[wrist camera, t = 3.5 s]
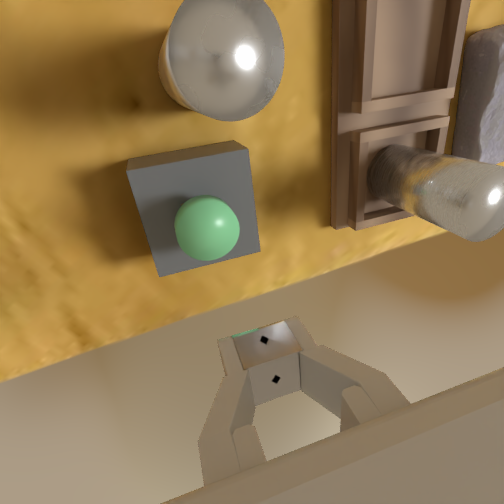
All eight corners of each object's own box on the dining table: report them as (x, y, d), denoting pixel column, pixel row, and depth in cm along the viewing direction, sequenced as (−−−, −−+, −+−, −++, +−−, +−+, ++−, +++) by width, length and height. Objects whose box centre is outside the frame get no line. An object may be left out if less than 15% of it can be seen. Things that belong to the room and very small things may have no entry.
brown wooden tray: (330, 226, 31) (344, 235, 29) (332, -24, 22) (351, -36, 20) (424, 202, 33) (443, 209, 31) (462, -34, 24) (492, -45, 22)
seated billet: (364, 203, 30) (453, 249, 21) (368, 149, 27) (469, 176, 19) (409, 192, 31) (511, 232, 22) (416, 139, 28) (533, 161, 20)
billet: (168, 114, 23) (184, 129, 14) (148, 30, 20) (153, -14, 12) (235, 104, 24) (288, 112, 15) (224, 22, 21) (279, -23, 13)
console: (157, 253, 27) (159, 277, 24) (128, 158, 23) (125, 171, 20) (246, 232, 29) (260, 251, 25) (233, 140, 25) (248, 148, 21)
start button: (177, 236, 25) (184, 267, 20) (164, 187, 23) (169, 209, 18) (226, 225, 26) (243, 252, 21) (218, 176, 24) (234, 195, 19)
